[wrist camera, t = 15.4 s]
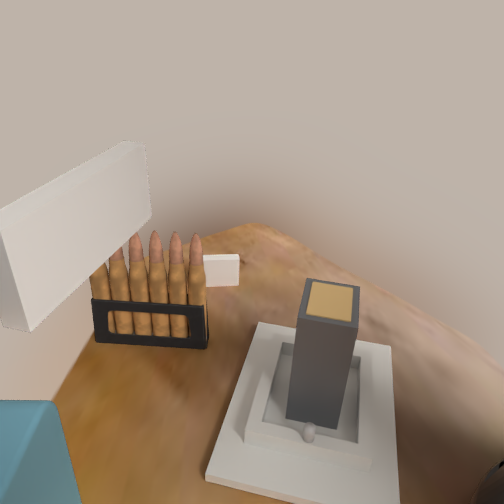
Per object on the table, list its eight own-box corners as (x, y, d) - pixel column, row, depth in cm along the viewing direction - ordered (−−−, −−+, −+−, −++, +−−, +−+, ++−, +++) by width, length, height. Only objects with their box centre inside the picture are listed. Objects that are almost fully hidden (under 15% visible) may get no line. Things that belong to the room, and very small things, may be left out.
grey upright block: (340, 382, 38) (360, 285, 33) (336, 429, 34) (358, 327, 29) (294, 373, 39) (306, 276, 34) (285, 418, 34) (297, 316, 29)
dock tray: (389, 352, 43) (396, 324, 41) (398, 530, 28) (410, 498, 26) (258, 327, 45) (260, 300, 43) (205, 480, 31) (204, 448, 29)
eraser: (196, 281, 52) (196, 254, 50) (237, 280, 53) (238, 253, 51) (196, 287, 51) (196, 260, 49) (238, 286, 52) (239, 259, 50)
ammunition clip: (209, 336, 44) (208, 228, 38) (206, 349, 42) (205, 239, 36) (101, 329, 44) (84, 221, 38) (95, 342, 42) (75, 231, 36)
